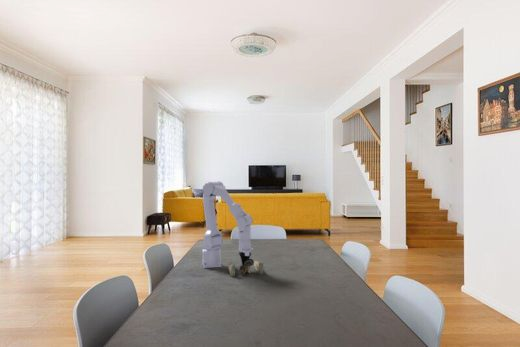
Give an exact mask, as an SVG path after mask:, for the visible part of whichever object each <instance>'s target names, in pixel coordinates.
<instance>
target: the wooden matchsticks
mask: <svg viewBox="0 0 520 347" xmlns="http://www.w3.org/2000/svg"><path fill="white" fill-rule="evenodd" d="M253 261H254V263H253V266H254V268H255V271H256V272H257V273H258V275H260V276H261V275H264V263H263V262H259V261H258V260H253ZM227 269H228V272H229V277H232V278H234V277H236V265H235V264H232V262H227Z"/></svg>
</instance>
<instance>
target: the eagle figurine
mask: <svg viewBox="0 0 520 347" xmlns="http://www.w3.org/2000/svg"><path fill="white" fill-rule="evenodd" d="M254 261H255V260H254V259H253V258H249V259H248V260H246V261H245V263H244V266H242V264H239V265H237V270H238V271H240V272H242V276H245V274H246V273H249V274H251V273H252V272H251V271H250V269H251V266H254Z"/></svg>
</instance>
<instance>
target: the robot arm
mask: <svg viewBox="0 0 520 347" xmlns="http://www.w3.org/2000/svg"><path fill="white" fill-rule="evenodd" d="M202 191H203V192H202V203H203V213H204V217H205V218H204V219H205V226H206V232H205V233H204V235H203V242H202V243H203V244H202V245H203V247H204V248H202V260H201V264H202V268H203V269H208V268H209V269H210V268H222V267H223V266H222V263H221V248H222V245H223V244H224V237H223V236H222V232H221V230H219V229H218V224H217V218H216V216H217V215H216V211H215V210H216V209H215V204H214V203H215V202H214V200H215V199H216V197H220V198H221V200H223V202H224V203H225V204H226V205H227V206H228V210H229V212H230V214H231V215H232V216H233V218H234V219H235V220H236V226H237V228H238V251H239V252H238V255H239V257H240V260H241V265H242V266H244V263H245V261H246V260H248V259H251V257H252V256H251V255H252V253H251V251H253V250H254V248H253V247H251V244H252V243H251V236H252V235H251V226H252V224H253V217H252V214H251V215H250V214H248V213H247V212H246V211H245V210H244V208H243V207H242V205H241V204H240V203H237V202H235V201H234V199H233V198H232V196H231V195H230V193H229V192H228V190H227V187H226V186H225V185H224V183H223V182H222V181H206V182H205V183H204V185H203V186H202Z"/></svg>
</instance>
